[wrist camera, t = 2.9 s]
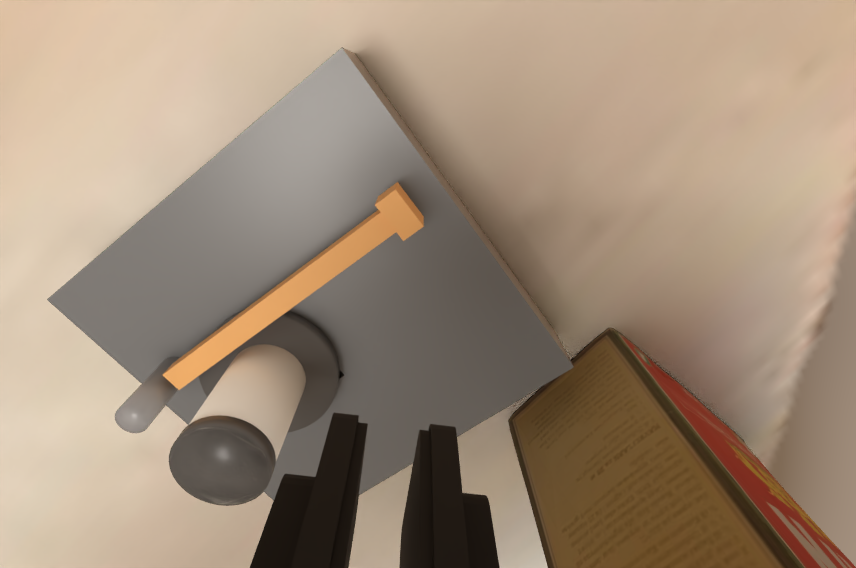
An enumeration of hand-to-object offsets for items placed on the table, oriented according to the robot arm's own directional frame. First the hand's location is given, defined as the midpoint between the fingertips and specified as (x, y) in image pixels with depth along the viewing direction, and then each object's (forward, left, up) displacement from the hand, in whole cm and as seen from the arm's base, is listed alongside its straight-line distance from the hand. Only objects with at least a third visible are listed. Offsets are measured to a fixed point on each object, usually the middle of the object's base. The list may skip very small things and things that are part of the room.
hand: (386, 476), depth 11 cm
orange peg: (+3, +5, -12) cm, 13 cm away
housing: (0, +5, -17) cm, 18 cm away
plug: (0, +8, -17) cm, 19 cm away
